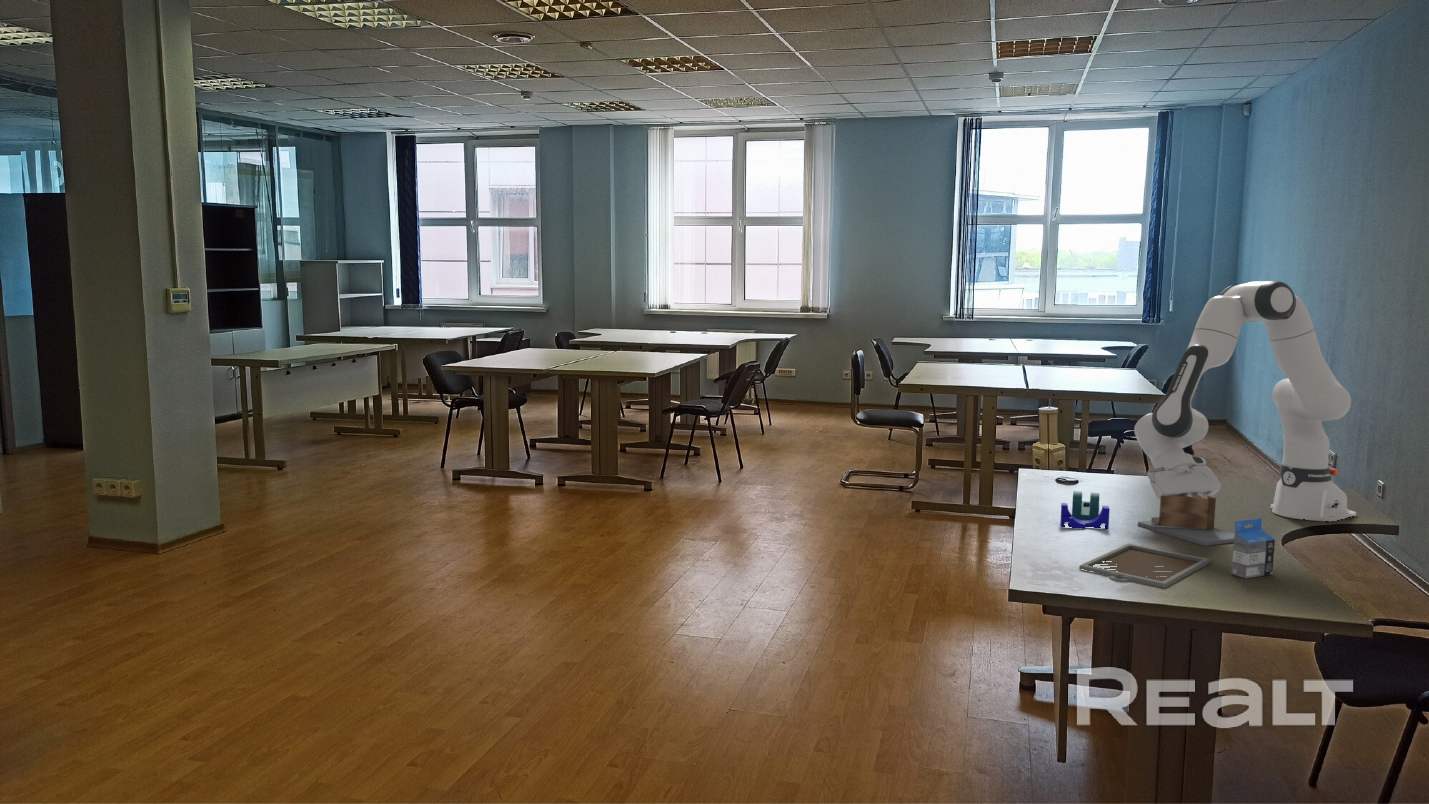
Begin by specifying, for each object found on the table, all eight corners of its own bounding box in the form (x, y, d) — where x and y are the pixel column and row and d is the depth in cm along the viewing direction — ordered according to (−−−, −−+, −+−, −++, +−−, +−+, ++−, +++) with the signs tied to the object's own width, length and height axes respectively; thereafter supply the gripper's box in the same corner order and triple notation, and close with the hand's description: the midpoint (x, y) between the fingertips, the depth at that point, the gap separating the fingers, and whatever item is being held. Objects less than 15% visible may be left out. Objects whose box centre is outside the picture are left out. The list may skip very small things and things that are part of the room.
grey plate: (1176, 521, 270) (1177, 517, 270) (1245, 540, 250) (1245, 536, 249) (1137, 525, 265) (1138, 521, 265) (1204, 545, 245) (1204, 542, 244)
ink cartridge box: (1245, 579, 217) (1249, 525, 216) (1230, 574, 221) (1234, 521, 219) (1273, 574, 221) (1277, 521, 219) (1257, 570, 224) (1261, 517, 223)
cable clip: (1061, 528, 262) (1062, 506, 262) (1060, 524, 267) (1061, 502, 266) (1108, 531, 259) (1110, 509, 258) (1107, 527, 263) (1108, 506, 263)
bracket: (1097, 524, 267) (1099, 496, 266) (1071, 521, 270) (1072, 493, 269) (1099, 510, 284) (1100, 483, 283) (1074, 507, 286) (1075, 481, 285)
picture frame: (1209, 558, 230) (1160, 586, 209) (1209, 565, 230) (1159, 593, 209) (1128, 543, 243) (1074, 567, 222) (1128, 549, 243) (1073, 574, 222)
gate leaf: (1211, 527, 257) (1213, 495, 256) (1213, 529, 255) (1215, 497, 254) (1150, 524, 260) (1152, 492, 259) (1152, 526, 258) (1154, 494, 257)
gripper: (1151, 462, 260) (1178, 506, 253) (1208, 457, 268) (1236, 500, 260) (1137, 476, 265) (1163, 519, 257) (1194, 470, 272) (1221, 512, 265)
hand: (1200, 509), depth 259 cm, fingers closed
